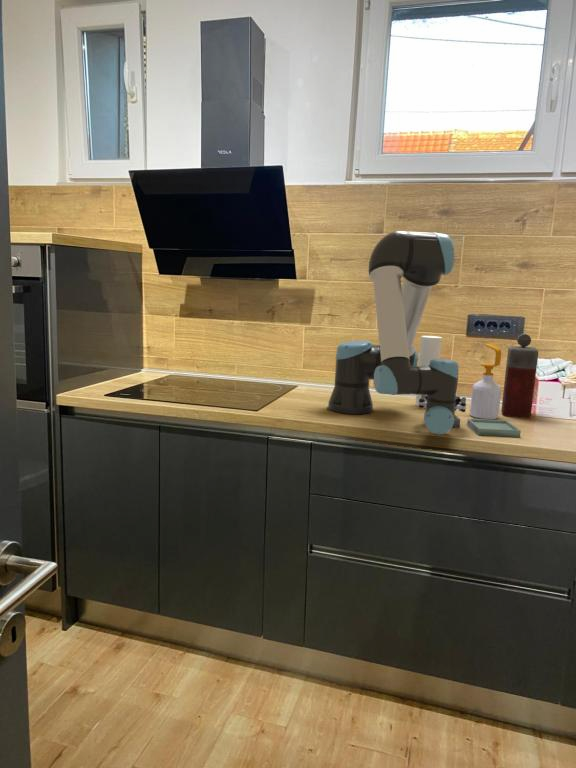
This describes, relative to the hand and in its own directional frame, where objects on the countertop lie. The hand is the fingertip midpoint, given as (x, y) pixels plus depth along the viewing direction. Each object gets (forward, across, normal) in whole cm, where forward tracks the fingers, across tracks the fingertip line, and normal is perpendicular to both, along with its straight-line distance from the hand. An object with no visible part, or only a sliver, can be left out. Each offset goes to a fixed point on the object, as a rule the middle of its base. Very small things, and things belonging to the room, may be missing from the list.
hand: (444, 395), depth 184 cm
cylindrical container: (+19, -6, -8) cm, 22 cm away
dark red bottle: (+21, +24, -8) cm, 33 cm away
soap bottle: (+11, +13, -8) cm, 19 cm away
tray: (-8, +15, -8) cm, 19 cm away
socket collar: (-5, 0, -8) cm, 9 cm away
